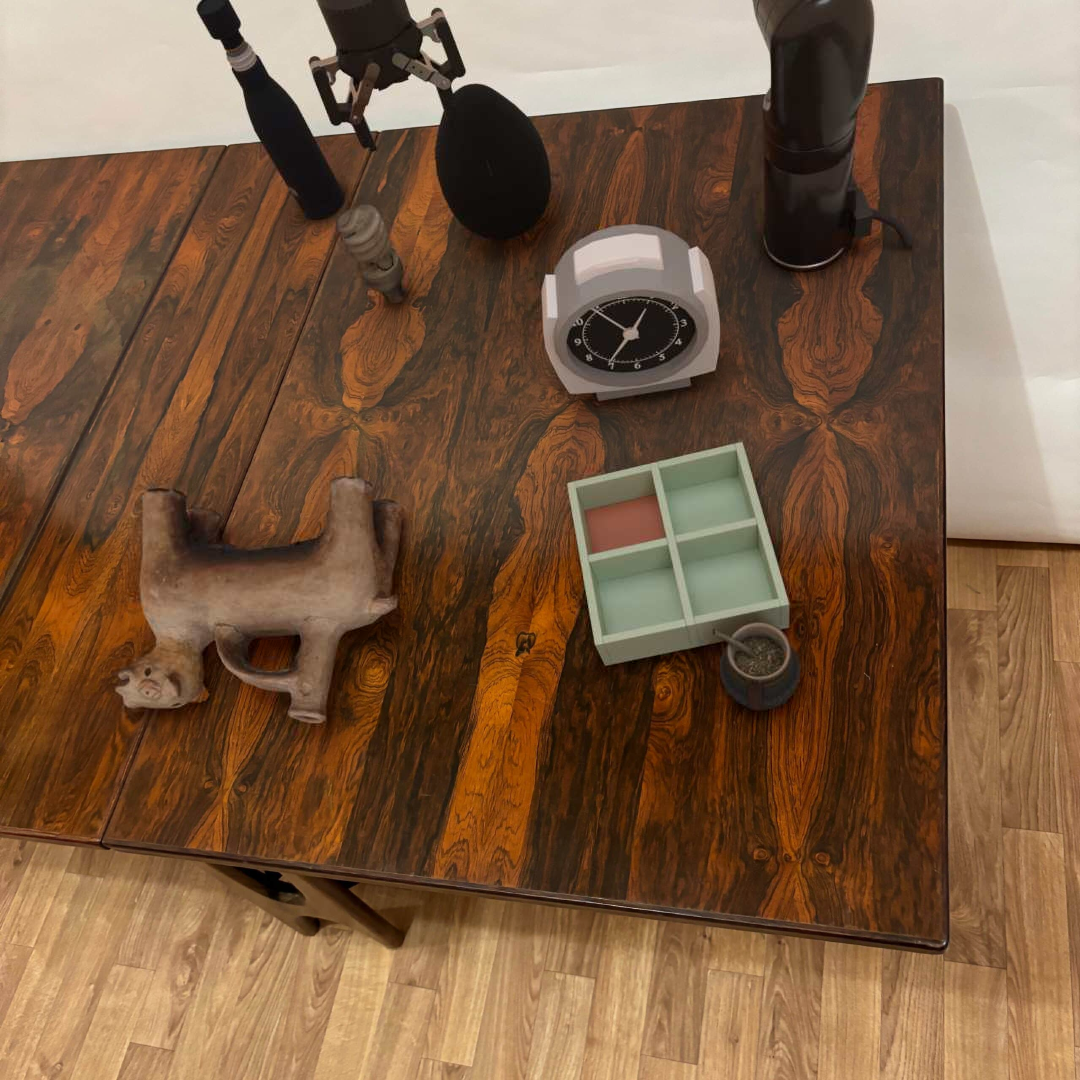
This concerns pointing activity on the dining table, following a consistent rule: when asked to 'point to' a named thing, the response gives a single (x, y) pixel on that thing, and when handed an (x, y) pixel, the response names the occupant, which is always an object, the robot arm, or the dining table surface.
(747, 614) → the divided tray
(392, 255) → the grey-beige cylinder
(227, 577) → the ceramic vessel
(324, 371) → the dining table surface
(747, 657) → the mate gourd
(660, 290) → the alarm clock
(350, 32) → the robot arm
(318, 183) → the wine bottle
